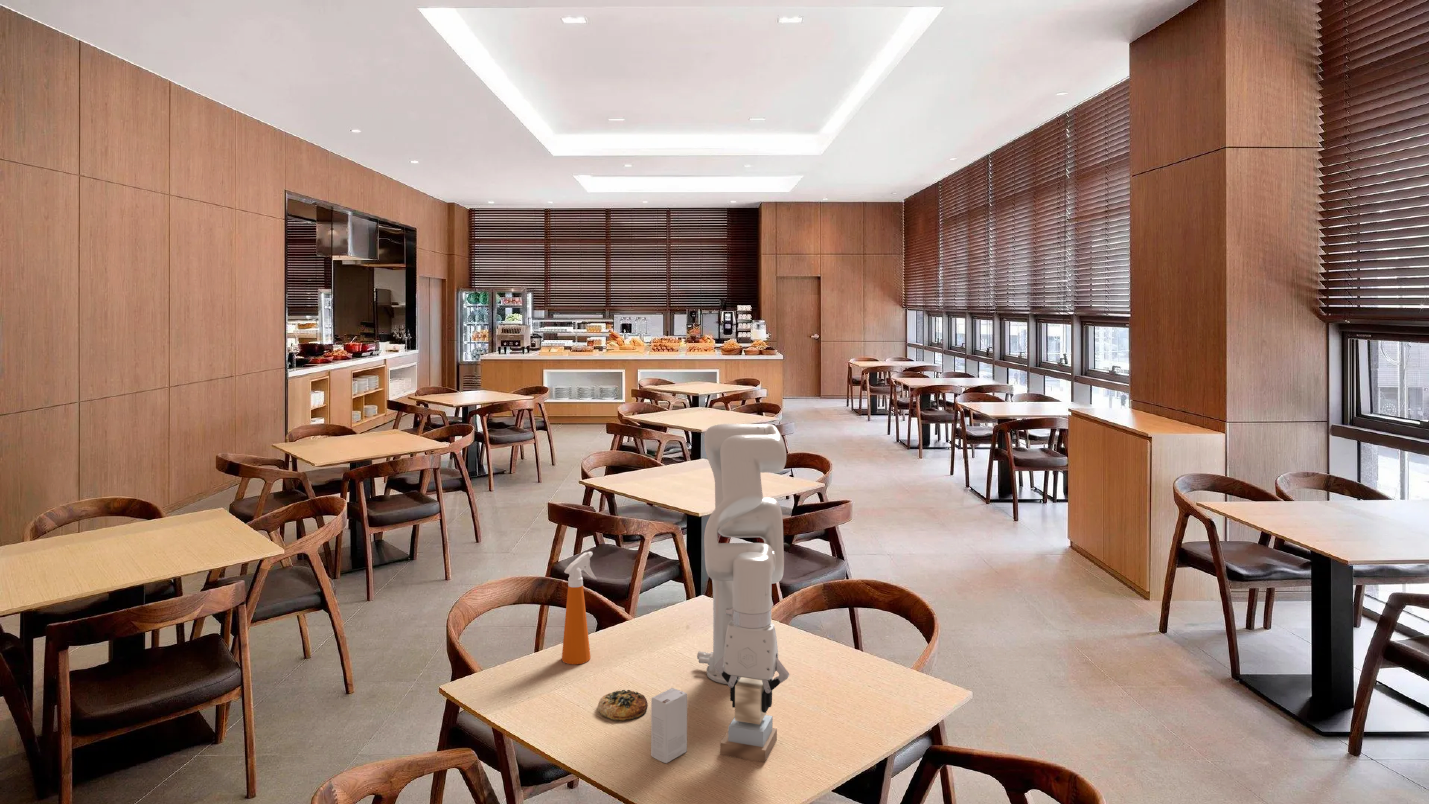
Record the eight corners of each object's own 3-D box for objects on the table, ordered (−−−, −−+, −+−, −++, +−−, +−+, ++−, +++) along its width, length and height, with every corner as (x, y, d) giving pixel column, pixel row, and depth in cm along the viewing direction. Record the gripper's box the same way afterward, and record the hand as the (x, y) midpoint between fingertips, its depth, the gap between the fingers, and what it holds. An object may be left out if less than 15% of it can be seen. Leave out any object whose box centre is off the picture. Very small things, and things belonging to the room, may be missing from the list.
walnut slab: (720, 757, 158) (720, 742, 158) (733, 736, 166) (733, 721, 166) (765, 765, 155) (765, 750, 155) (776, 743, 163) (776, 728, 163)
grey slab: (728, 741, 158) (728, 726, 158) (738, 725, 165) (738, 710, 164) (763, 747, 156) (763, 732, 156) (772, 730, 162) (772, 716, 162)
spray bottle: (606, 653, 207) (606, 551, 205) (576, 667, 198) (575, 561, 196) (586, 647, 211) (585, 547, 209) (555, 660, 203) (554, 556, 200)
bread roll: (656, 702, 180) (654, 682, 179) (635, 732, 170) (633, 710, 169) (611, 696, 184) (609, 676, 183) (587, 725, 173) (585, 703, 172)
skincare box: (671, 745, 161) (671, 686, 160) (688, 752, 158) (688, 692, 157) (649, 757, 156) (649, 696, 155) (666, 765, 154) (666, 703, 153)
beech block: (734, 720, 158) (735, 685, 158) (742, 709, 163) (742, 675, 162) (759, 724, 157) (760, 689, 156) (766, 713, 161) (766, 678, 161)
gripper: (703, 618, 157) (703, 708, 159) (790, 629, 152) (788, 723, 153) (716, 606, 164) (715, 692, 166) (799, 616, 159) (798, 705, 160)
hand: (750, 706), depth 160 cm, fingers open, 5 cm apart
